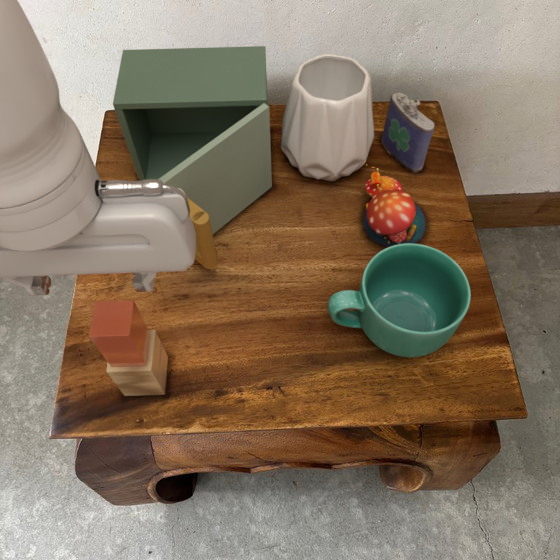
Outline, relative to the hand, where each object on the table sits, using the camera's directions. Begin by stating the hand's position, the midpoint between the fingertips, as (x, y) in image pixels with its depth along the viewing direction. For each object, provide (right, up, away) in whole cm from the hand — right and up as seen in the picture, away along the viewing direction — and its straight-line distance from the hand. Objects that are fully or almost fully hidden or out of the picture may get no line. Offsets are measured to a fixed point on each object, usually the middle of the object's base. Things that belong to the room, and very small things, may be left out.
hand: (94, 287), depth 50 cm
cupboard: (+5, +20, +38) cm, 43 cm away
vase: (+24, +20, +38) cm, 49 cm away
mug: (+31, -5, +23) cm, 39 cm away
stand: (0, -11, +19) cm, 22 cm away
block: (0, -7, +12) cm, 14 cm away
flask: (+36, +21, +38) cm, 56 cm away
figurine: (+33, +9, +31) cm, 47 cm away
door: (+11, +7, +30) cm, 33 cm away
